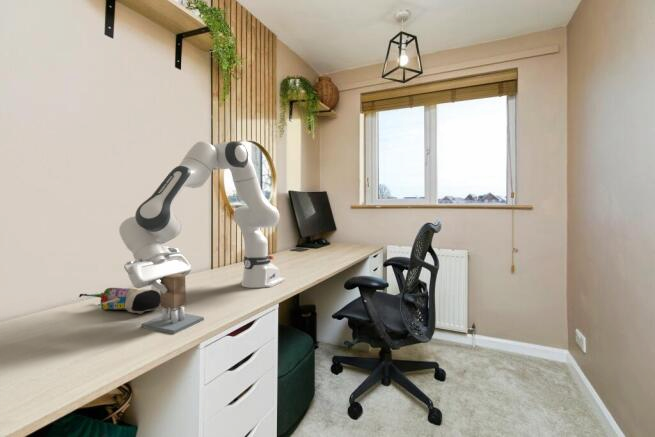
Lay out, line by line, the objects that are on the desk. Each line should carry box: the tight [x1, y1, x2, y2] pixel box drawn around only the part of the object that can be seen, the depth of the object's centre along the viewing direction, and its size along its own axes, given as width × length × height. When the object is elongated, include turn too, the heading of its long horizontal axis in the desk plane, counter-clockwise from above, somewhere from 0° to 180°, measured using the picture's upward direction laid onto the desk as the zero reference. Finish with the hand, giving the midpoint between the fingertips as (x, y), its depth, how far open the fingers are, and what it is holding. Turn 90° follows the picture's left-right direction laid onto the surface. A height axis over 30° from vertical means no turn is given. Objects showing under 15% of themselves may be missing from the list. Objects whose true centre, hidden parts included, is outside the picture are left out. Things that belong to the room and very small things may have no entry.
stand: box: [140, 306, 205, 335], centre depth 99 cm, size 12×14×5 cm
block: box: [159, 274, 187, 310], centre depth 98 cm, size 4×6×10 cm
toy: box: [78, 287, 161, 314], centre depth 112 cm, size 23×9×30 cm
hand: (174, 289), depth 98 cm, fingers closed on block, 4 cm apart
